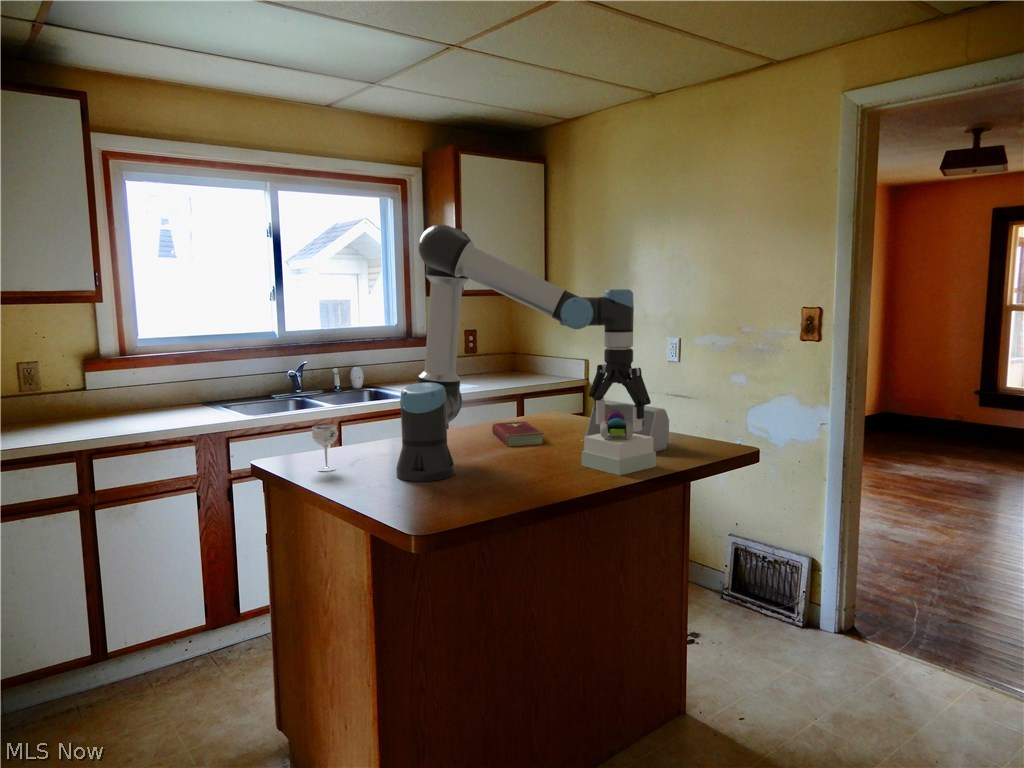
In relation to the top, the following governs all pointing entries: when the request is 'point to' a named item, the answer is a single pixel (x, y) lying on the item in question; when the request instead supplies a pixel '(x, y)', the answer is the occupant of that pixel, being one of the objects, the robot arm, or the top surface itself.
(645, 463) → the grey square box
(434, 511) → the top surface
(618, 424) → the chunky wheeled toy
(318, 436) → the wineglass
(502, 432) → the hardcover book
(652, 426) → the light grey storage bin
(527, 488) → the top surface
